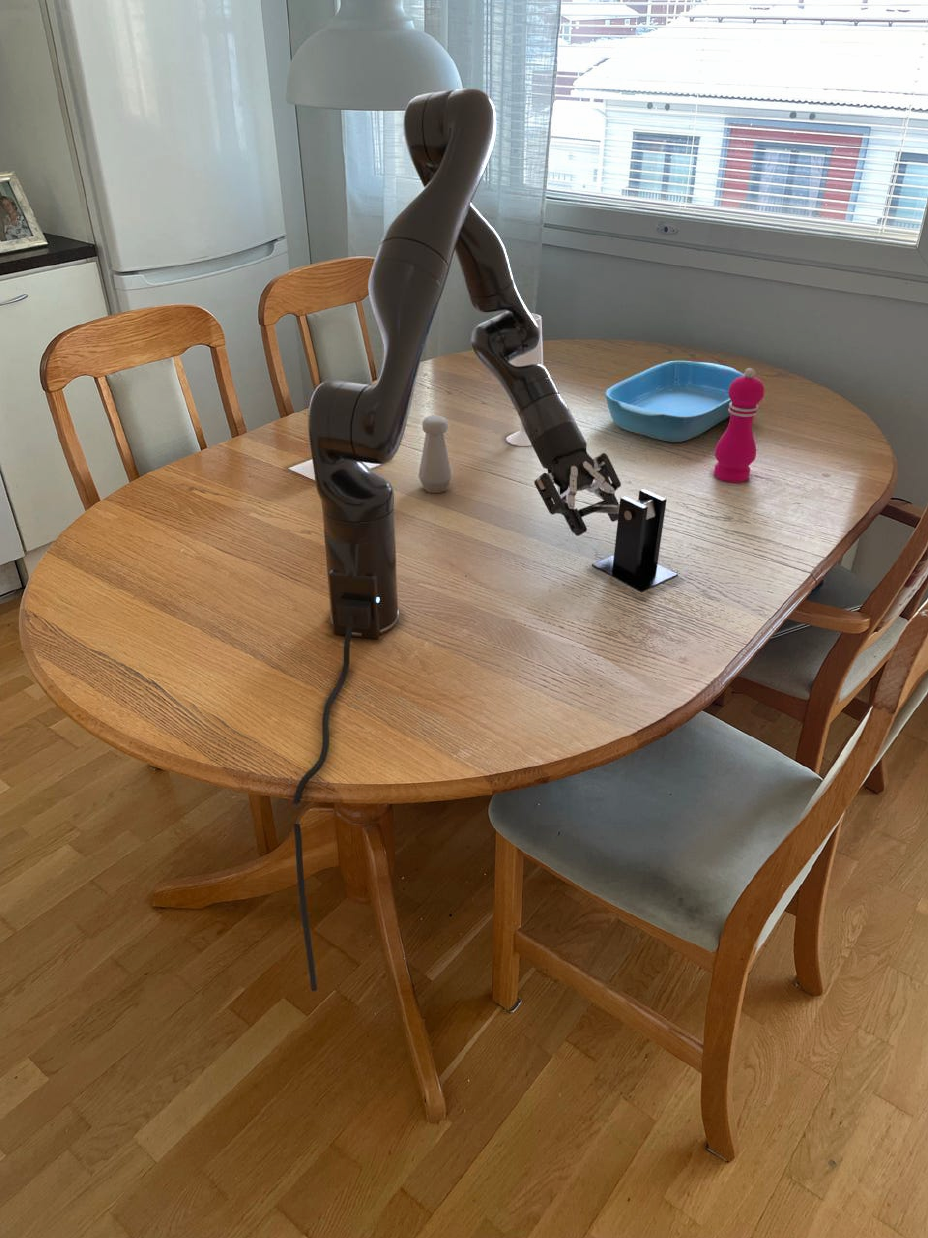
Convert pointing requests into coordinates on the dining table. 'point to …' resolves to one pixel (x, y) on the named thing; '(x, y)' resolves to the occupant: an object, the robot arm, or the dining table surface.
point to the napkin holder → (308, 468)
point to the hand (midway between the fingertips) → (600, 526)
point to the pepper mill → (739, 429)
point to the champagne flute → (527, 359)
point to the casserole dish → (673, 400)
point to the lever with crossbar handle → (615, 508)
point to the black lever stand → (638, 544)
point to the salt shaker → (435, 456)
